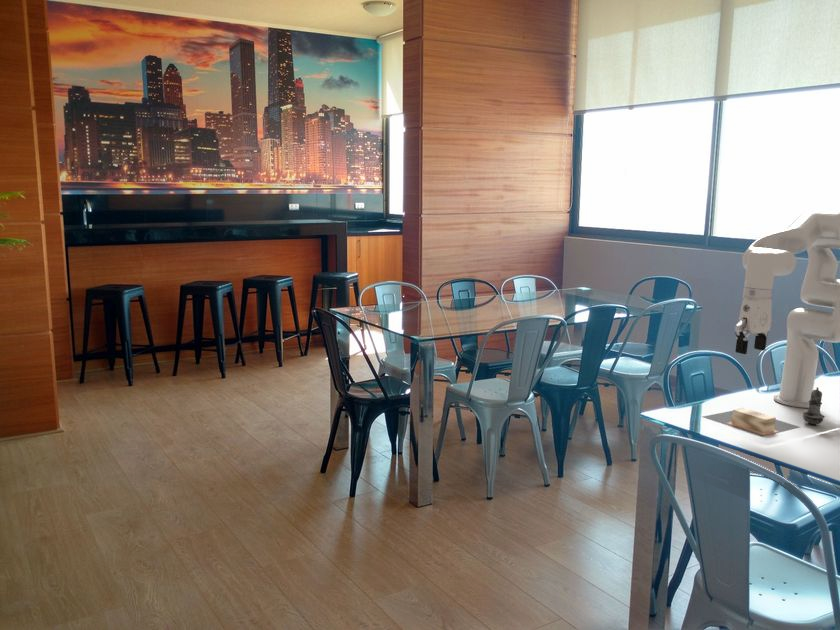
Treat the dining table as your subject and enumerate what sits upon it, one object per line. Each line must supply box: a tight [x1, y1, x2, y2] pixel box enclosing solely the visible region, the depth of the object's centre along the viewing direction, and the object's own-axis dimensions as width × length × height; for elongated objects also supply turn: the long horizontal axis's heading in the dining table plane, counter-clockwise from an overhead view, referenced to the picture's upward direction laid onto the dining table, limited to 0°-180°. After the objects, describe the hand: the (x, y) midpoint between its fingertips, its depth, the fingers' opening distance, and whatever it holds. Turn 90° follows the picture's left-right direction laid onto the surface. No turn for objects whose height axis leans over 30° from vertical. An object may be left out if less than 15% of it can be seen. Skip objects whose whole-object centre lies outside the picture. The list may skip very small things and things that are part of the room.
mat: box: [702, 410, 801, 437], centre depth 213 cm, size 20×19×1 cm
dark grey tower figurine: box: [802, 386, 825, 427], centre depth 213 cm, size 6×6×12 cm
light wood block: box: [732, 407, 777, 433], centre depth 208 cm, size 10×5×4 cm, turn 33°
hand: (750, 351), depth 212 cm, fingers open, 9 cm apart
